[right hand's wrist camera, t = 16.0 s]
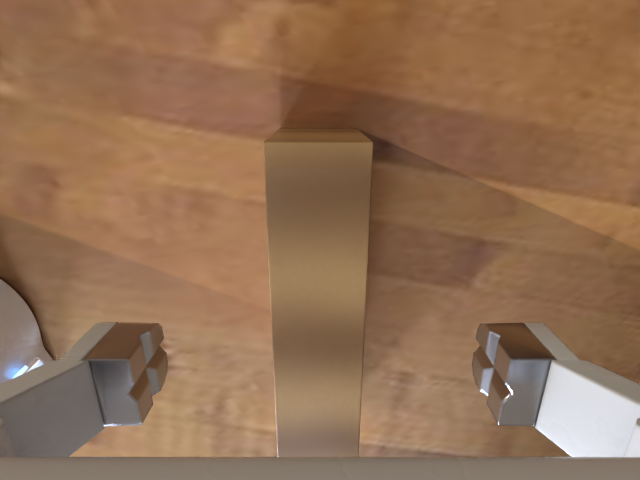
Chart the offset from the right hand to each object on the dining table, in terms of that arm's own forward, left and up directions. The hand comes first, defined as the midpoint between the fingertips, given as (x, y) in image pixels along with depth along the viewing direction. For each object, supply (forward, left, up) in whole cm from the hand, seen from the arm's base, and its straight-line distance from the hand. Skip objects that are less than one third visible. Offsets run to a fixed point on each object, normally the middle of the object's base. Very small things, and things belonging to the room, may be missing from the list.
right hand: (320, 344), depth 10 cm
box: (-8, -6, -24) cm, 26 cm away
